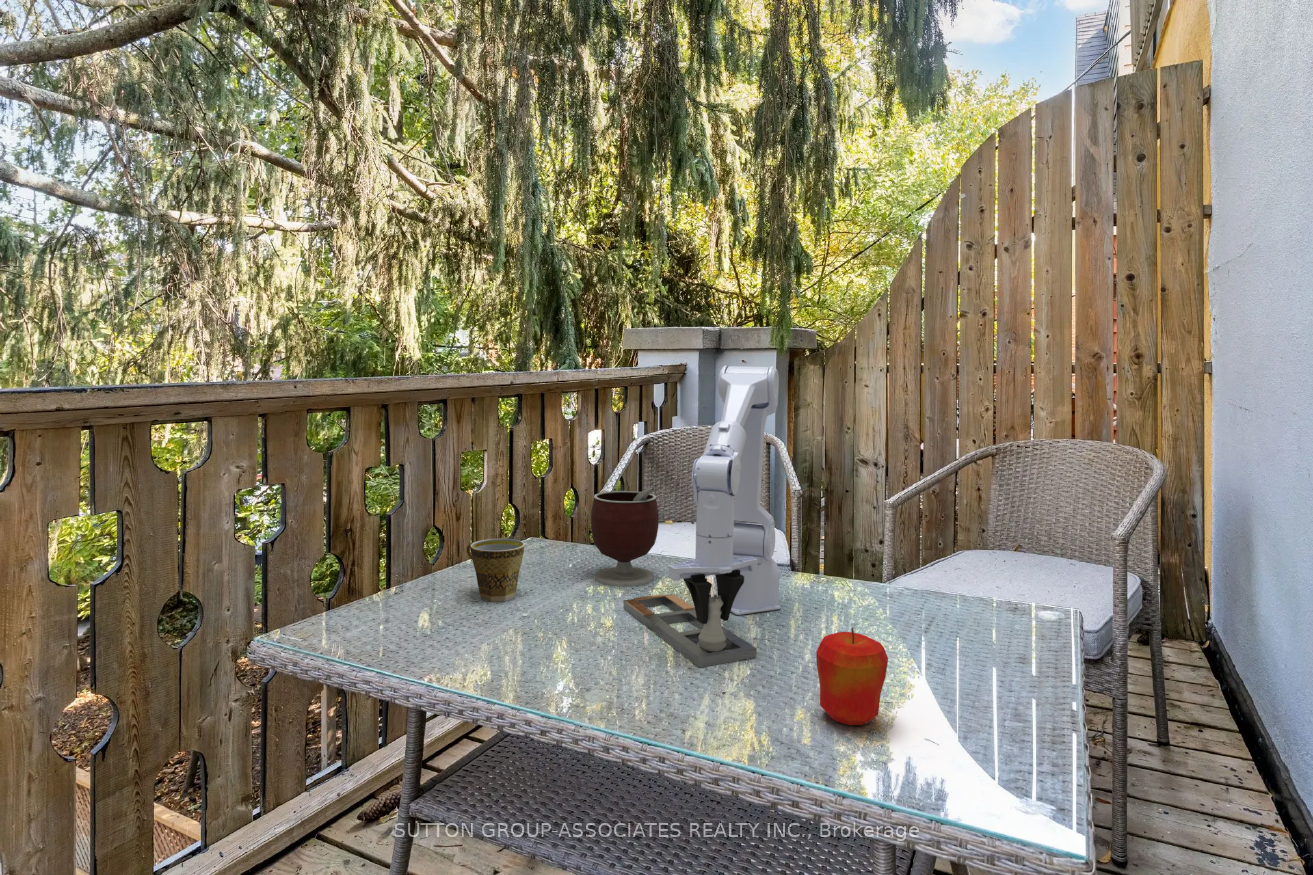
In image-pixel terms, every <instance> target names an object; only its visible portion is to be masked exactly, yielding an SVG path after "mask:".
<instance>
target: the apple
mask: <svg viewBox="0 0 1313 875" xmlns="http://www.w3.org/2000/svg"><path fill="white" fill-rule="evenodd" d="M850 630H851V631H840V632H835V633H830V634H827V635H825V636H823V638H822V639H821V641H820V643H819V645H818V646H817V648H816V649H817V650H816V651H815V652H816V653H815V656H816V657H815V658H816V669H817V675H818V681H819V706H820V707H821V708H822V710H824V712H826V713H827V715H828V716H829V717H830V718H831V719H832V720H834V721H835V722H837V723H840V724H843V725H848V726H853V725H860V726H863V725H865V724H867V723H869V722H871V721H873V720H874V719H875V718H876V717H878V716H879V714H880V713H879V711H880V703H881V702H880V701H881V695H882V694H881V693H882V690H883V687H884V684H885V680H886V676H887V670H888V662H889V656H888V654H887V652H886V650H885V647H884V646H883V645H882V643H881V642H879V641H878V640H875V639H873V638H871V637H869V636H867V635H864V634H861V633H857V632H854V627H852V628H851V629H850Z"/></svg>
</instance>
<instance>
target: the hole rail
mask: <svg viewBox="0 0 1313 875" xmlns="http://www.w3.org/2000/svg"><path fill="white" fill-rule="evenodd" d="M660 606H665V607H667V608H668V609H670V610H671V611H669V612H667V611H666V612H660V613H655V612H654V611H652V609H650V608H651V607H660ZM622 608H623V610H625V611H626V612H628V613H629V614H630V615H631V616H632V617H634V618H635V619H636V620H637V621H638V622H640V623H642V624H643V625H644V626H645V627H647V628H648V629H649V630H650V631H651V632H653V633H654V634H655V635H656V636H658V637H659V638H660V639H662V640H663V641H664V642H666V643H667V644H669V646H671V647H672V648H673V649H675V650H676V651H677V652H679V653H680V654H681V655H682V656H684V657H685V658H686V659H688V660H689V661H690V662H691V663H693V665H695V666H696V667H697V668H704V667H709V666H714V665H715V666H716V665H723V664H727V663H728V664H729V663H734V662H738V661H737V660H740V661H744V660H743V659H746V660H748V659H747V658H751V659H754V658H753V657H756V658H757V647H756V646H754V645H752V644H751V643H749V642H748V641H745V639H743V638H741V637H740V636H738V635H737V634H735V633H733V632H732V631H730V630H729V629H728V628H726V627H724V626H722V625H721V627H722V630H723V632H724V635H725V637H726V640H725V643H726V646H725V648H726V650H725V649H724V650H721V651H716V652H708V651H705V650H703V649H701V648H700V647H699V645H698V642H699V641H700V640H699V638H698V637H699V635H700V633H701V630H702V629H703V626H704V624H702V623H700V622H699V621H697V617H696V611H695V607H694V605H691V604H690V603H688V602H687V601H685V600H684V599H682V598H680V597H679V596H677V595H676V594H673V593H671V594H662V593H661V594H655V595H647V596H638V597H633V598H631V599H624V600H623V606H622ZM685 622H689V623H690V624H692V625H693V626H695V627H696V628H698V629H693V630H687V631H686V630H684V631H678V630H677V629H676V628H674V626H671V625H670V624H677V623H678V624H679V623H685Z"/></svg>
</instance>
